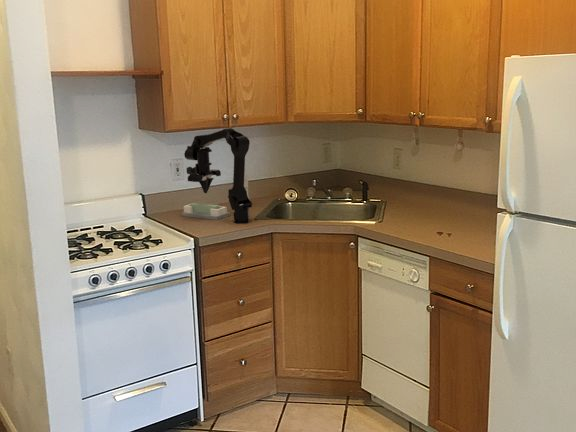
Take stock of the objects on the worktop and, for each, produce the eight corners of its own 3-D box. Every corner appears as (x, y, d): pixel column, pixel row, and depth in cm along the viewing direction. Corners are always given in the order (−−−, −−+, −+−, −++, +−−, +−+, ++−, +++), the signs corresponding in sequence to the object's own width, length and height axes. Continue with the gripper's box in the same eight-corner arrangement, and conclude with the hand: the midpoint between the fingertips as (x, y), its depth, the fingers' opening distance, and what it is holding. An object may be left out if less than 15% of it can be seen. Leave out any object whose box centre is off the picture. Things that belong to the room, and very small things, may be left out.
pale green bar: (220, 213, 317) (219, 205, 316) (216, 214, 315) (215, 206, 314) (194, 210, 326) (194, 202, 325) (190, 211, 323) (190, 203, 322)
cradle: (229, 215, 319) (229, 206, 318) (217, 220, 311) (216, 210, 310) (194, 211, 331) (194, 202, 330) (181, 215, 322) (180, 206, 321)
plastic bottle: (242, 208, 333) (239, 169, 328) (234, 206, 338) (232, 167, 334) (252, 206, 337) (250, 167, 332) (245, 204, 342) (243, 166, 337)
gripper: (202, 157, 327) (204, 188, 330) (177, 163, 311) (180, 195, 315) (220, 158, 321) (222, 190, 325) (195, 164, 306) (198, 197, 309)
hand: (205, 193), depth 319 cm, fingers closed
